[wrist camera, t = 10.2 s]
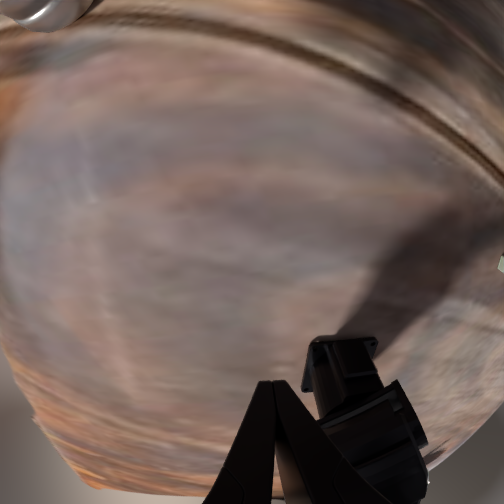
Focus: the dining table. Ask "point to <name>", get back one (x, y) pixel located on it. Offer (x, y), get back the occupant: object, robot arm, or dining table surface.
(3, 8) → the plastic bottle
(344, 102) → the dining table surface
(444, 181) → the dining table surface
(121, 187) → the dining table surface
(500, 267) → the pocket
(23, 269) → the dining table surface
